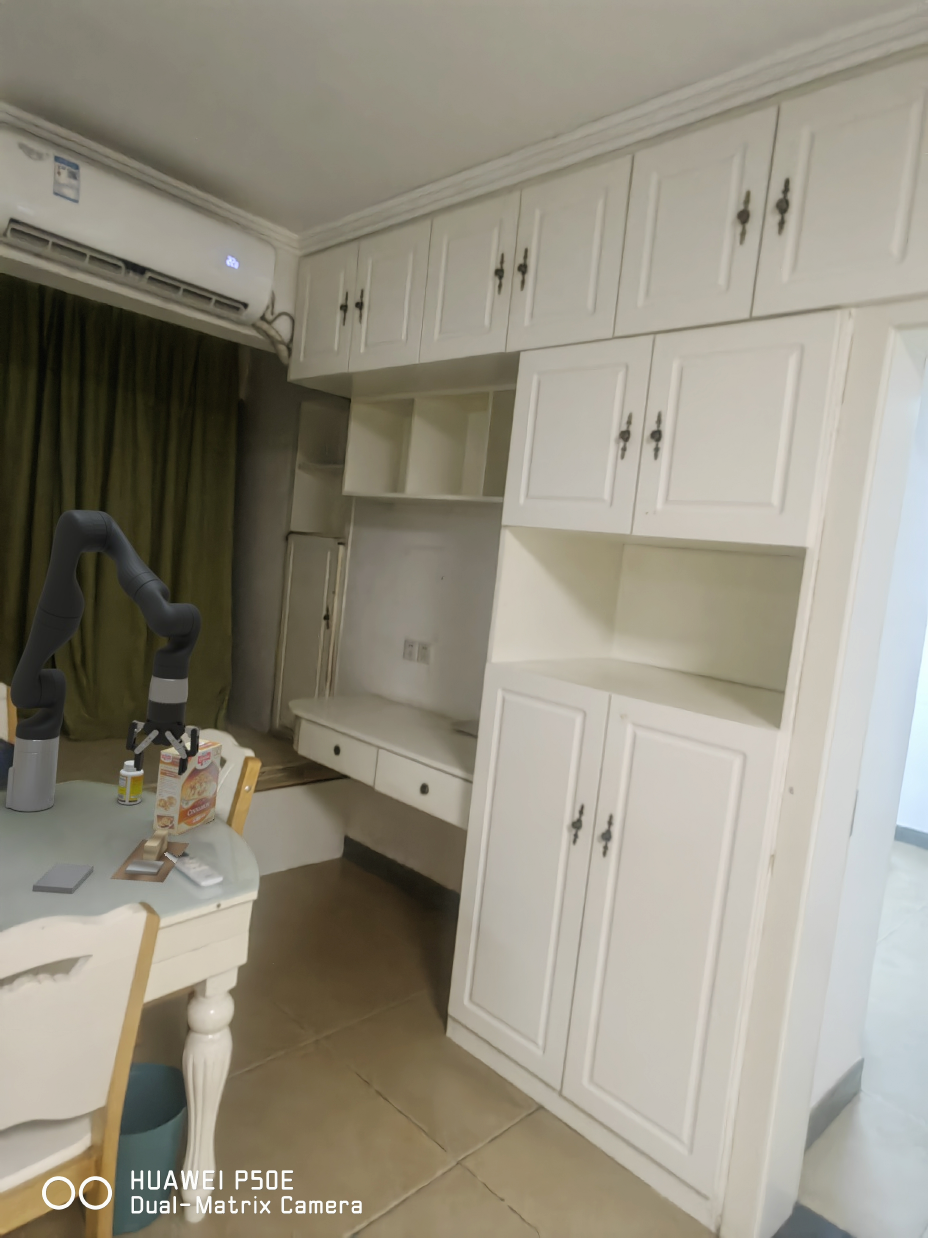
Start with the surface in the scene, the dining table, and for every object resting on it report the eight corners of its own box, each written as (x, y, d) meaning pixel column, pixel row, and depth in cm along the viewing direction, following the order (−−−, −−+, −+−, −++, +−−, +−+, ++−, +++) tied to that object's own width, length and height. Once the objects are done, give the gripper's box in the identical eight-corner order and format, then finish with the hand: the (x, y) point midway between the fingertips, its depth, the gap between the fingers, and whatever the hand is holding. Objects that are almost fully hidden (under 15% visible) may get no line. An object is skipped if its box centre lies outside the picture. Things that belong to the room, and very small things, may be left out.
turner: (156, 875, 151) (158, 856, 150) (125, 873, 150) (127, 854, 150) (175, 848, 165) (177, 830, 164) (147, 846, 164) (148, 828, 164)
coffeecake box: (177, 839, 172) (185, 756, 170) (150, 832, 173) (158, 750, 172) (215, 819, 186) (223, 743, 184) (191, 813, 188) (198, 737, 186)
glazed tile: (55, 874, 149) (31, 897, 139) (56, 862, 149) (32, 885, 139) (92, 876, 150) (71, 900, 140) (93, 865, 149) (72, 888, 140)
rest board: (110, 882, 147) (110, 878, 147) (142, 843, 167) (142, 839, 167) (162, 886, 148) (162, 882, 148) (188, 846, 168) (189, 843, 168)
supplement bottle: (144, 799, 194) (147, 760, 193) (136, 806, 188) (140, 766, 187) (121, 797, 193) (125, 758, 192) (113, 804, 188) (117, 764, 187)
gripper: (126, 697, 153) (119, 774, 154) (198, 705, 154) (190, 781, 156) (138, 690, 160) (131, 763, 162) (207, 697, 162) (199, 770, 163)
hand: (160, 772), depth 159 cm, fingers open, 8 cm apart
